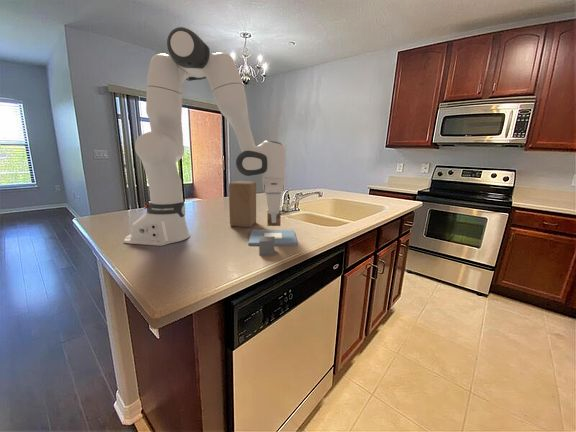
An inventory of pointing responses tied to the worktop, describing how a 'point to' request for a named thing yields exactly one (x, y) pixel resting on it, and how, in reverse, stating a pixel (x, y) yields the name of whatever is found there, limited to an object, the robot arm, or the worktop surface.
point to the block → (242, 203)
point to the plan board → (280, 236)
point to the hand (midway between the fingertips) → (273, 220)
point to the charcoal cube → (266, 245)
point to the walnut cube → (278, 219)
